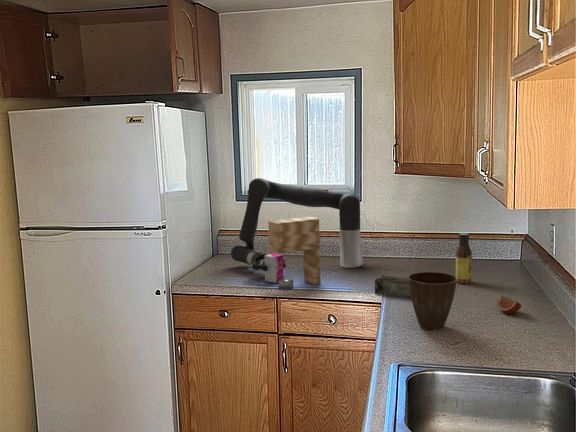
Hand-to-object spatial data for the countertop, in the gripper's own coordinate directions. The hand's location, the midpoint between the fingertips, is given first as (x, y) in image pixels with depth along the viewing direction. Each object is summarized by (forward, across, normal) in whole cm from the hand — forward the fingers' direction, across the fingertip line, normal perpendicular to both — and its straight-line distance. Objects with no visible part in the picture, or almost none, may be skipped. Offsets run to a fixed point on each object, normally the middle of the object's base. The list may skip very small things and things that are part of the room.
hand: (275, 267), depth 246 cm
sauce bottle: (+44, +62, +7) cm, 77 cm away
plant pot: (+76, +15, +7) cm, 78 cm away
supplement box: (-2, 0, +7) cm, 7 cm away
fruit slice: (+80, +46, +7) cm, 93 cm away
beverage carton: (+43, +31, +7) cm, 53 cm away
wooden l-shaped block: (+8, +4, +6) cm, 11 cm away
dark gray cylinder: (+8, 0, +7) cm, 11 cm away
